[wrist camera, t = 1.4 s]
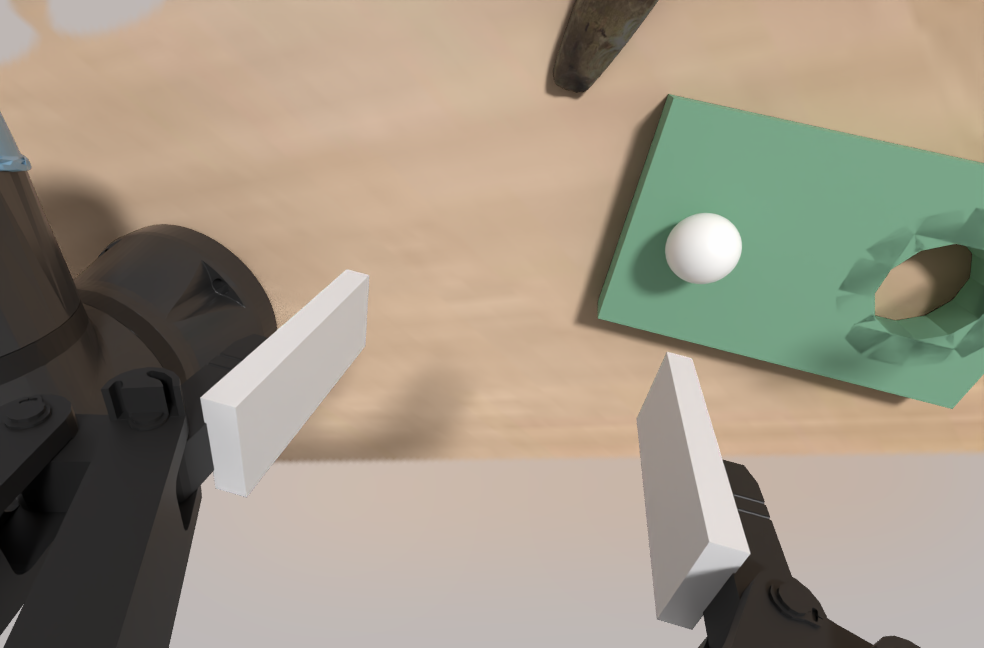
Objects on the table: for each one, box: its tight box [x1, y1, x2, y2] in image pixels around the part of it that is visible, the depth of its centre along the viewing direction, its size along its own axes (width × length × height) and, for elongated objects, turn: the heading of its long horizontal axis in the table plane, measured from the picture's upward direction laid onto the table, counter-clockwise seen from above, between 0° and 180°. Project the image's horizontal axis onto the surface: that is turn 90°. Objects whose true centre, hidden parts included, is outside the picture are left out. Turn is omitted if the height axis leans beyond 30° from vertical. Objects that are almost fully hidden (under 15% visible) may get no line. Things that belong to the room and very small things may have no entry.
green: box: [598, 94, 984, 409], centre depth 24 cm, size 24×14×16 cm, turn 80°
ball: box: [665, 213, 742, 284], centre depth 28 cm, size 4×4×4 cm
